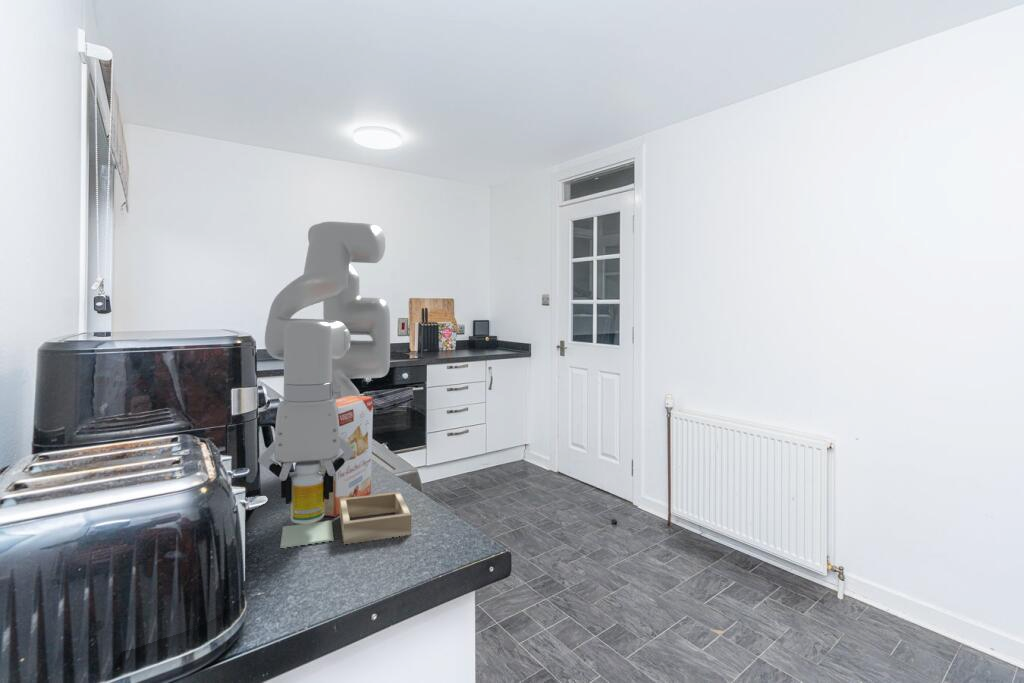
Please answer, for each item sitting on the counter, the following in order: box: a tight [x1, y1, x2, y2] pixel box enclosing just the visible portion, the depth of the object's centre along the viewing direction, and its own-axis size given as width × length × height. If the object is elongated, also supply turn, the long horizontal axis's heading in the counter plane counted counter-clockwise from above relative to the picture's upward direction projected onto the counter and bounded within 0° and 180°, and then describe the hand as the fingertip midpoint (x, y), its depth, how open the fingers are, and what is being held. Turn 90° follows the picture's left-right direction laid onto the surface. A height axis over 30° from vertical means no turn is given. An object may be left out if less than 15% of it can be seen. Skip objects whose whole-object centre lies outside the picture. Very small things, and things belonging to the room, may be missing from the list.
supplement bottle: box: [289, 461, 325, 525], centre depth 82 cm, size 5×5×10 cm
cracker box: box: [319, 395, 374, 518], centre depth 96 cm, size 14×6×21 cm, turn 168°
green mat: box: [279, 520, 334, 549], centre depth 82 cm, size 8×8×1 cm
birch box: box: [339, 491, 412, 546], centre depth 86 cm, size 12×11×4 cm
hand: (307, 498), depth 82 cm, fingers closed on supplement bottle, 5 cm apart
